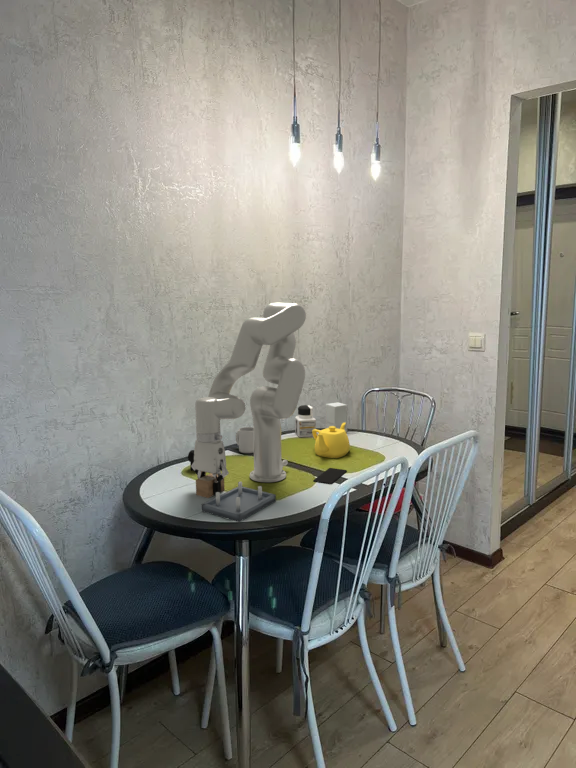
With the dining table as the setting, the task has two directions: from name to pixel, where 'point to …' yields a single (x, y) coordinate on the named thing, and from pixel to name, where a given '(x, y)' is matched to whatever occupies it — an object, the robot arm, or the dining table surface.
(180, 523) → the dining table surface
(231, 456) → the dining table surface
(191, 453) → the digital camera
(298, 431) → the container
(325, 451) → the teapot
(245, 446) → the cup
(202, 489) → the labeled cardboard box
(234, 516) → the tray
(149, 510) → the dining table surface
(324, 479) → the smartphone
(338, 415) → the supplement box
